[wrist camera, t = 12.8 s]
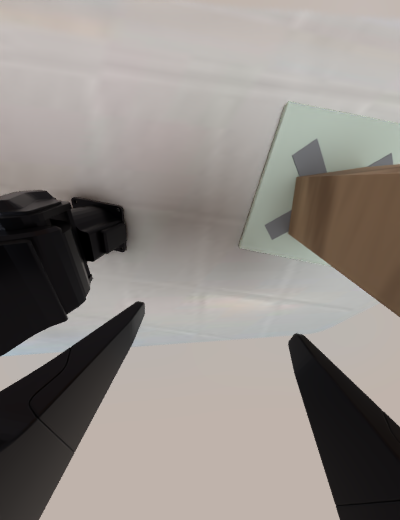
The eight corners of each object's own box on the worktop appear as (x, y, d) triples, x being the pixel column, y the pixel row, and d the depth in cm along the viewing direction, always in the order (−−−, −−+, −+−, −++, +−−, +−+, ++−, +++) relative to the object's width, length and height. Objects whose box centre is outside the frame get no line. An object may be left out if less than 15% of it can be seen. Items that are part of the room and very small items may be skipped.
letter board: (238, 245, 20) (239, 248, 19) (284, 105, 13) (289, 100, 12) (339, 266, 20) (344, 269, 19) (437, 135, 13) (451, 133, 12)
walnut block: (288, 233, 18) (416, 329, 6) (296, 177, 15) (549, 168, 4) (344, 228, 17) (610, 329, 5) (364, 167, 14) (984, 114, 3)
